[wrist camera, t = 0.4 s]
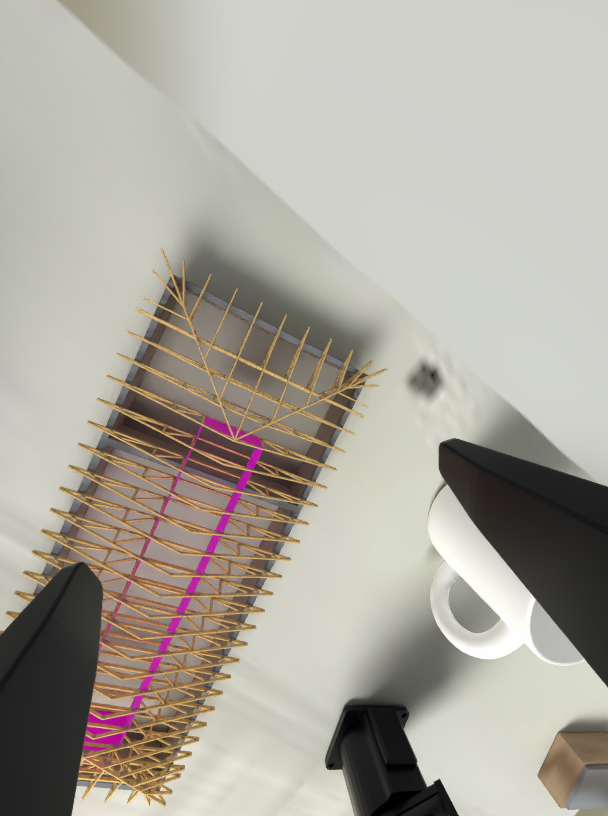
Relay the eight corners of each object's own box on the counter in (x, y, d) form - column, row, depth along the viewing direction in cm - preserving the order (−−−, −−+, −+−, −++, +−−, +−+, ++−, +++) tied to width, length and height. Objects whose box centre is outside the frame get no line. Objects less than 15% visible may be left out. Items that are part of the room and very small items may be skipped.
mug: (435, 605, 31) (534, 732, 21) (374, 558, 28) (453, 678, 19) (526, 503, 31) (668, 585, 21) (472, 448, 28) (605, 510, 18)
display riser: (588, 773, 41) (617, 808, 38) (537, 775, 39) (563, 813, 36) (609, 732, 41) (640, 764, 38) (558, 732, 38) (587, 767, 35)
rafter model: (171, 261, 21) (150, 234, 15) (366, 364, 25) (409, 373, 19) (-30, 727, 24) (-110, 851, 19) (172, 751, 29) (158, 859, 23)
